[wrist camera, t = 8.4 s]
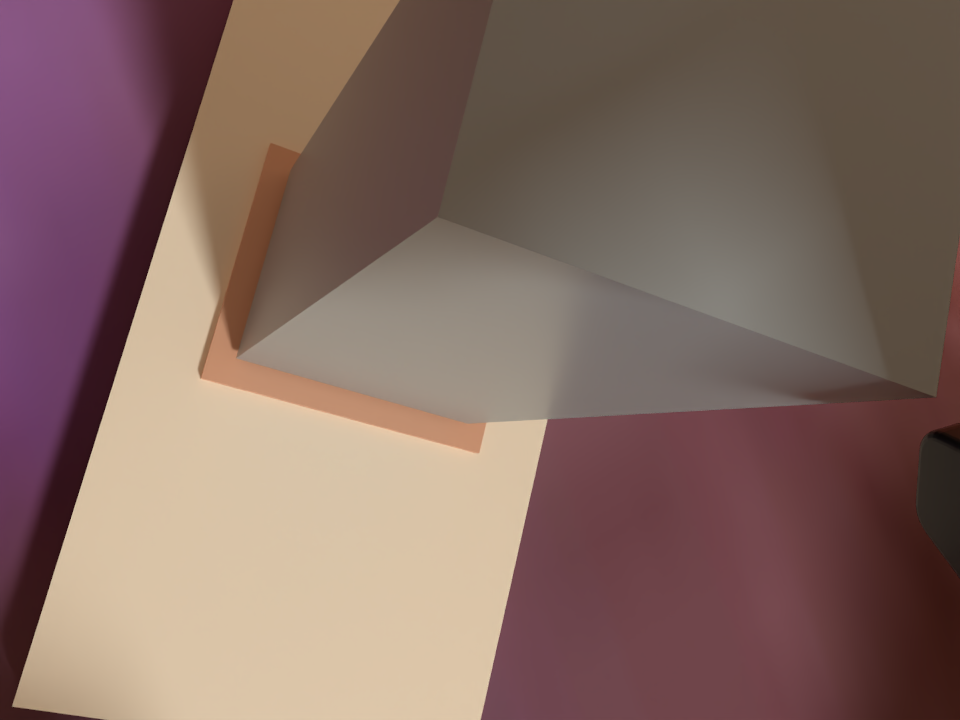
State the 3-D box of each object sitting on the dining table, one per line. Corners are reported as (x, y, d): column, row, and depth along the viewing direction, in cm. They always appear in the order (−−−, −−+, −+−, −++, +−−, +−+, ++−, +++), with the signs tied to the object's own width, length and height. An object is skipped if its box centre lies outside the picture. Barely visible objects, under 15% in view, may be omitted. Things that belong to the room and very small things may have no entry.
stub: (467, 423, 19) (935, 396, 8) (236, 357, 18) (437, 216, 7) (509, 248, 20) (991, 10, 9) (290, 169, 19) (553, -241, 7)
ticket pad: (449, 752, 20) (472, 774, 19) (18, 689, 17) (11, 709, 16) (632, -52, 24) (661, -79, 23) (303, -219, 21) (315, -263, 20)
